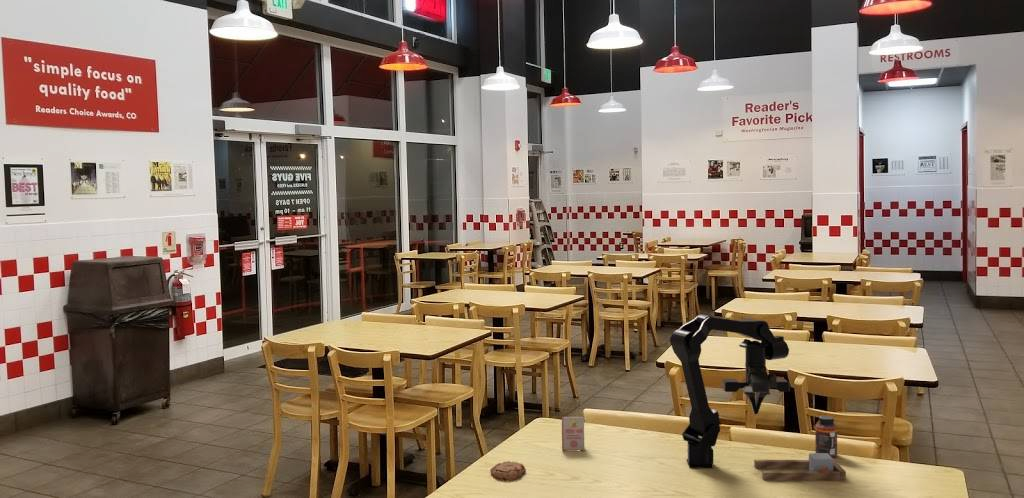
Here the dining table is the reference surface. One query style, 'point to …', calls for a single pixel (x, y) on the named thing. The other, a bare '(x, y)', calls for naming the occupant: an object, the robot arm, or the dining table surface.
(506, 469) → the cookie
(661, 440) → the dining table surface
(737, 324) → the robot arm
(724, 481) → the dining table surface
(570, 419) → the product box
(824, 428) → the supplement bottle
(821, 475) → the channel
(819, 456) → the rider
